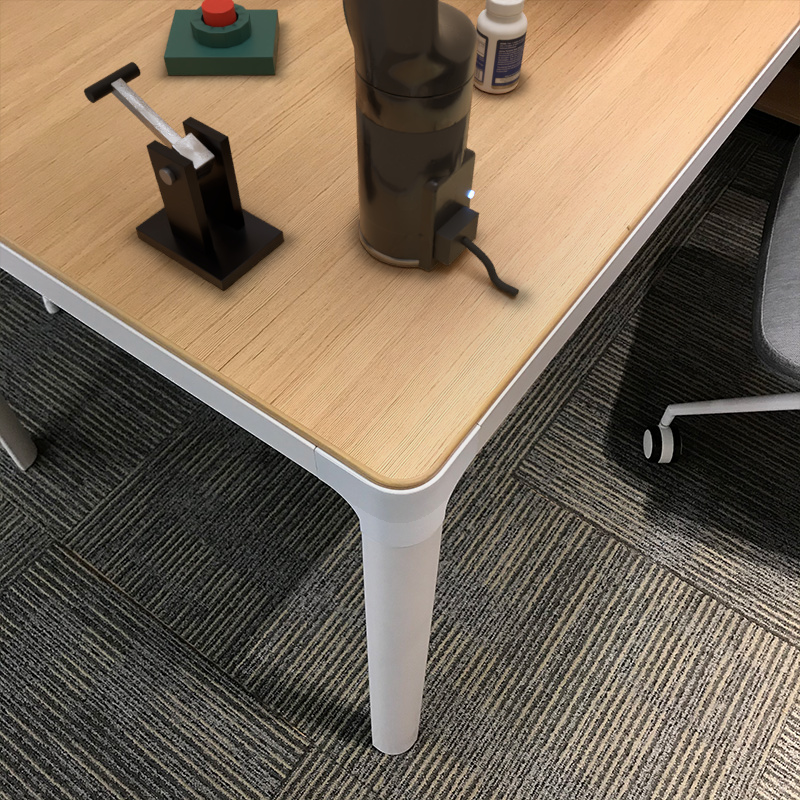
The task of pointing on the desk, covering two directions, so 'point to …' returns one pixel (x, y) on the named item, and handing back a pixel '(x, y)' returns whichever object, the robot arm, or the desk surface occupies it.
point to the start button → (218, 12)
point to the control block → (223, 44)
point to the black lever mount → (205, 213)
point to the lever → (151, 117)
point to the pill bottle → (500, 45)
